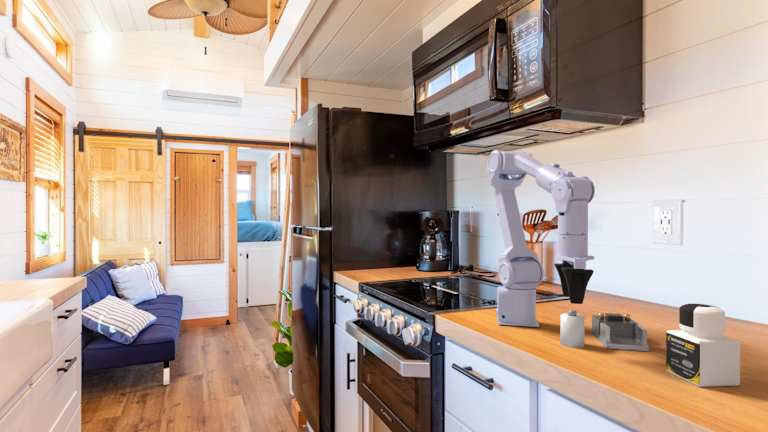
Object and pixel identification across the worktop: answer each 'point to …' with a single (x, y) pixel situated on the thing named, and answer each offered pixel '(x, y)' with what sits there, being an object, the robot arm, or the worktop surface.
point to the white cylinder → (572, 329)
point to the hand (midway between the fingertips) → (572, 299)
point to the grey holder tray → (619, 332)
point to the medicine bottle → (703, 348)
